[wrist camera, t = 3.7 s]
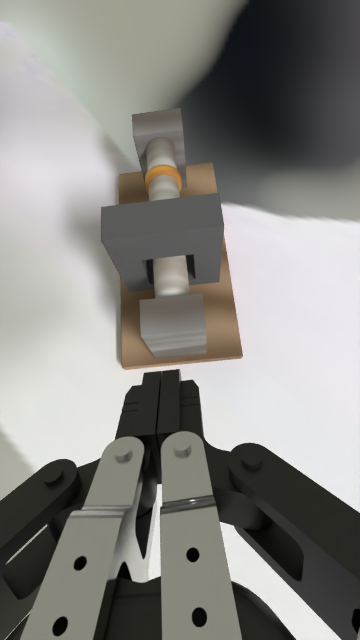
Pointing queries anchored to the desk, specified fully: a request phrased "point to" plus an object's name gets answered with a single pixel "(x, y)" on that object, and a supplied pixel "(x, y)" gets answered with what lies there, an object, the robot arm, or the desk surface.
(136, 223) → the gray notched block
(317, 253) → the desk surface
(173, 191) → the pipe stand
